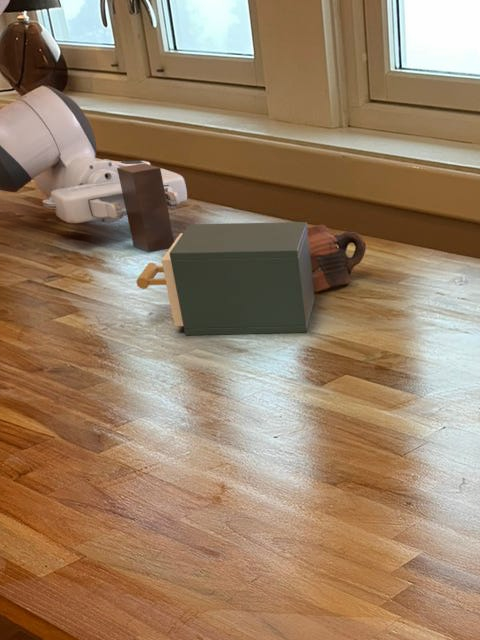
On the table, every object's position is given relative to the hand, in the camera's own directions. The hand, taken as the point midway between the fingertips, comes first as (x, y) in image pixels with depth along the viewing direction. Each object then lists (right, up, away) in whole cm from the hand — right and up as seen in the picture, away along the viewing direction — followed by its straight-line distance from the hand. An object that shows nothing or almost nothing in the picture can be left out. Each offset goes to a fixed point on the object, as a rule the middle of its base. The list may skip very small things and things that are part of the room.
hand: (146, 205), depth 143 cm
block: (0, -5, +4) cm, 6 cm away
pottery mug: (+28, -15, -10) cm, 33 cm away
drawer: (+17, -23, -22) cm, 36 cm away
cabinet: (+21, -24, -21) cm, 38 cm away
